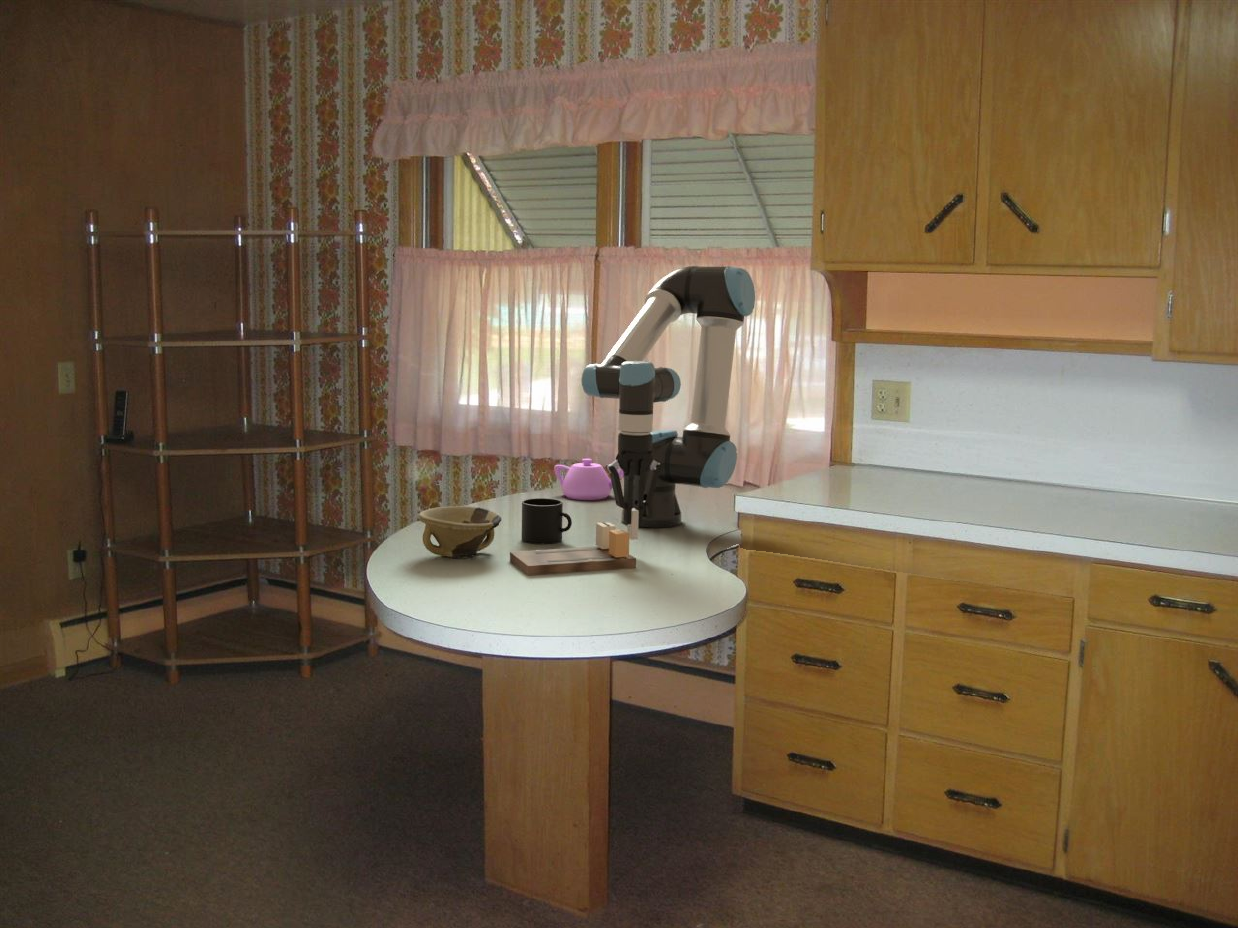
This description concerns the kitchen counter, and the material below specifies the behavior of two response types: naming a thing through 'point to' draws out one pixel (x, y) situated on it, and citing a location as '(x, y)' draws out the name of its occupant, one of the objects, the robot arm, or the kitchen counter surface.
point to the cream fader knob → (603, 534)
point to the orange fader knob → (619, 543)
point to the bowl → (458, 530)
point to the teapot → (585, 481)
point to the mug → (543, 521)
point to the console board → (569, 560)
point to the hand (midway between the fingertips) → (632, 538)
